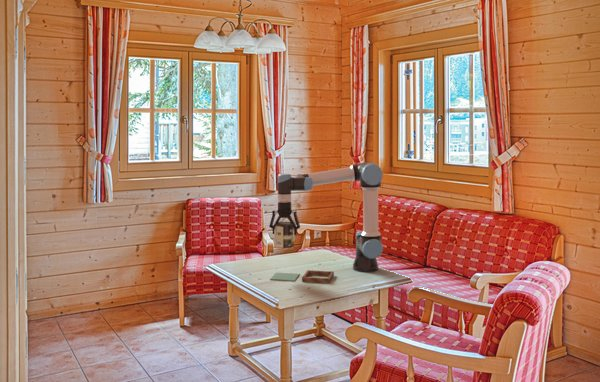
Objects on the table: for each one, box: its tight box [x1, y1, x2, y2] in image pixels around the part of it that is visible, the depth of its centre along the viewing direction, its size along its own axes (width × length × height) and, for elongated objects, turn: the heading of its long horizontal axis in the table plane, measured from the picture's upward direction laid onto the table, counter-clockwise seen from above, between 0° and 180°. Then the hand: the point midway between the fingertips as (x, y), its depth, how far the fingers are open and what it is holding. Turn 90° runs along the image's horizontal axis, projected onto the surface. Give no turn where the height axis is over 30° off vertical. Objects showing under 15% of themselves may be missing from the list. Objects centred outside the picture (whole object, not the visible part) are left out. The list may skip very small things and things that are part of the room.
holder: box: [301, 269, 335, 284], centre depth 332 cm, size 15×15×2 cm
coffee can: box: [274, 221, 295, 250], centre depth 332 cm, size 10×10×14 cm
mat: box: [269, 272, 301, 282], centre depth 335 cm, size 14×14×1 cm
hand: (284, 240), depth 332 cm, fingers closed on coffee can, 10 cm apart
